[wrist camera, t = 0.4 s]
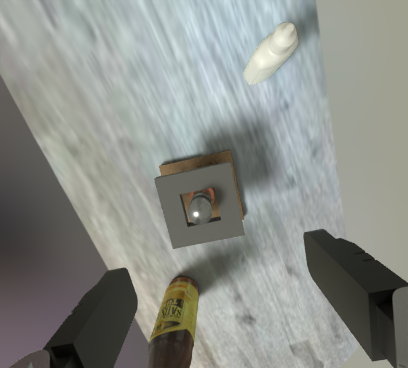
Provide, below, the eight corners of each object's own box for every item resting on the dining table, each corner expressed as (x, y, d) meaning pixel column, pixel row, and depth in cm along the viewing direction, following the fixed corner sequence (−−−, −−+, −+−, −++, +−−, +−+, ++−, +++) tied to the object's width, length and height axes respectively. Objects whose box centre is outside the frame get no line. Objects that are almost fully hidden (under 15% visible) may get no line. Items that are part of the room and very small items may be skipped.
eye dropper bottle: (279, 82, 32) (319, 49, 21) (243, 86, 33) (262, 55, 21) (279, 51, 32) (320, -2, 20) (241, 55, 32) (260, 5, 20)
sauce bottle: (186, 269, 39) (163, 394, 20) (205, 293, 40) (202, 435, 21) (159, 286, 40) (111, 423, 21) (178, 309, 41) (150, 461, 21)
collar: (157, 177, 28) (154, 179, 27) (229, 161, 28) (230, 162, 26) (175, 243, 30) (173, 248, 29) (242, 230, 30) (244, 234, 28)
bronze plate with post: (160, 165, 35) (138, 175, 25) (230, 150, 35) (239, 153, 24) (177, 230, 38) (164, 265, 27) (243, 217, 37) (257, 248, 26)
